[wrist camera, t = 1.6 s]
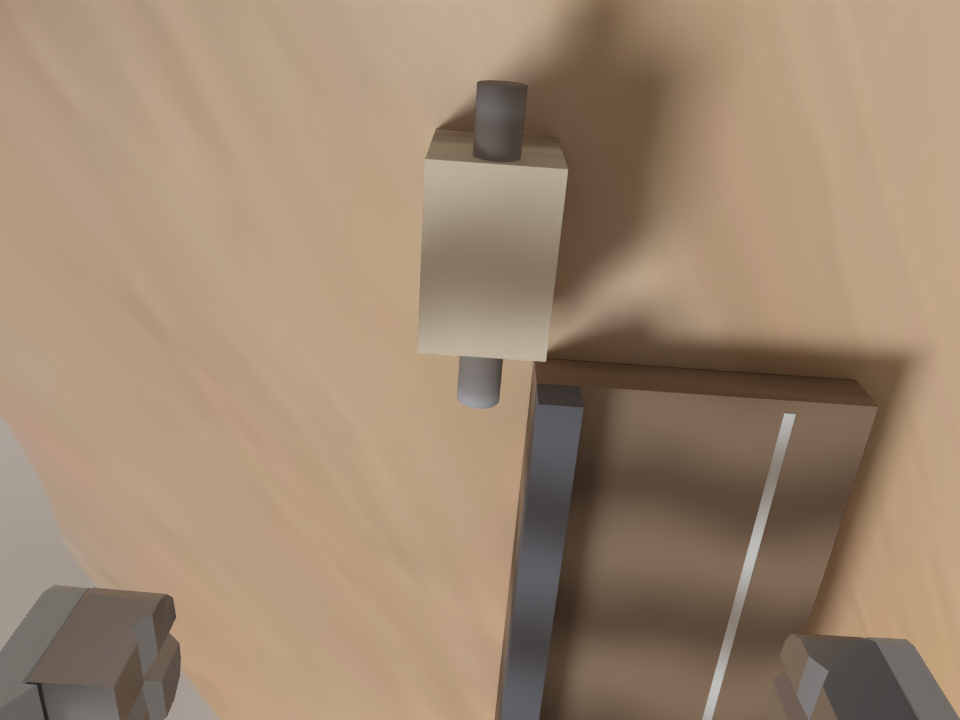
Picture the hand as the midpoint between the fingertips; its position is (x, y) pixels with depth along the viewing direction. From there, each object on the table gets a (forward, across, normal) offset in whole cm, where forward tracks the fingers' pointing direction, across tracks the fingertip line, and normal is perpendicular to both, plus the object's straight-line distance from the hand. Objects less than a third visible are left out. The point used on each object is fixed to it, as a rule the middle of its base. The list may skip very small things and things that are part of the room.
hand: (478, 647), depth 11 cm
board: (+19, -8, +15) cm, 26 cm away
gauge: (+19, 0, 0) cm, 19 cm away
